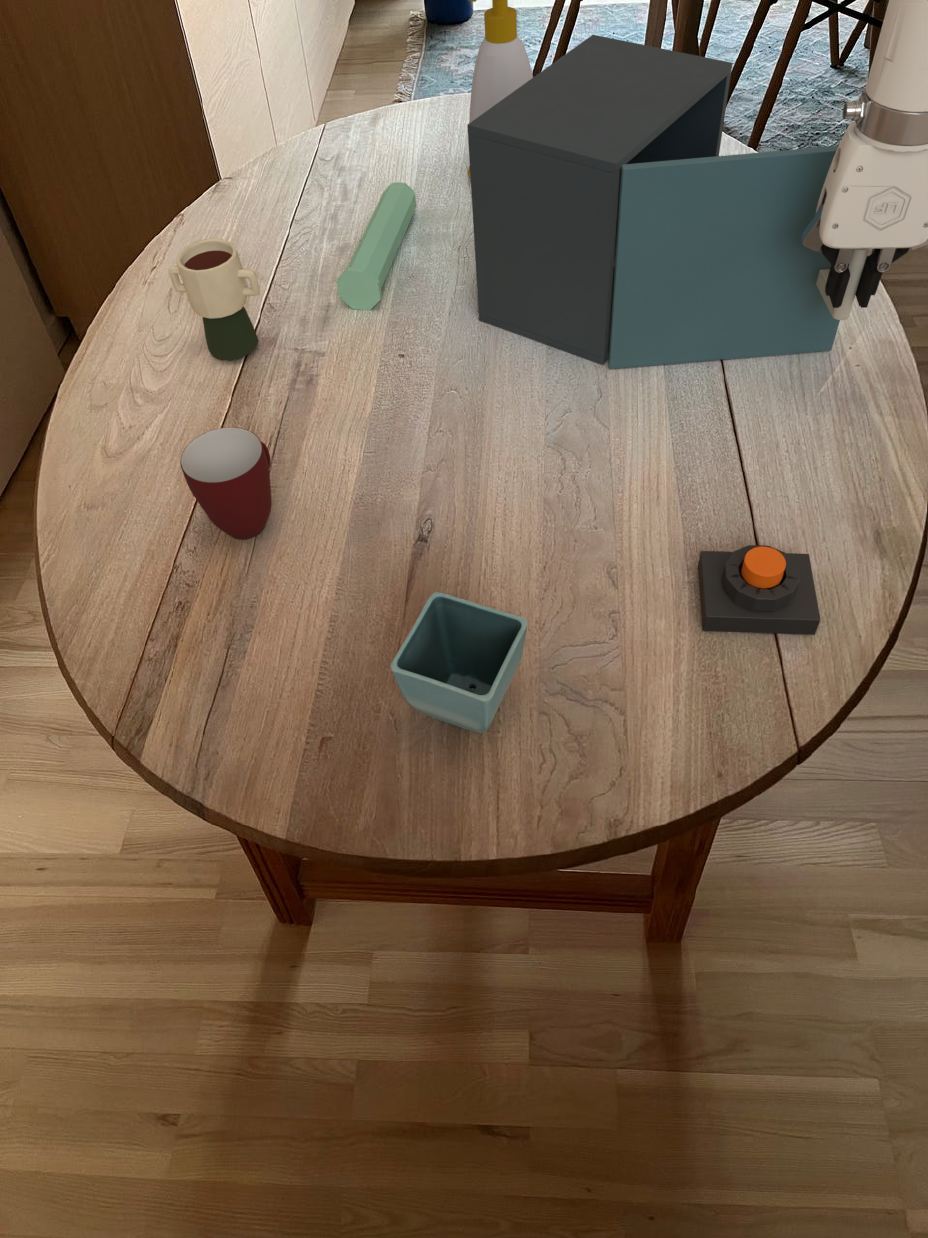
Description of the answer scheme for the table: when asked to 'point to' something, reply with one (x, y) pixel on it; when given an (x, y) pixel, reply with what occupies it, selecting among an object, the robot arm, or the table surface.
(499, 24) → the soap bottle
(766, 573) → the button
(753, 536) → the table surface
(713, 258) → the door
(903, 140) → the robot arm
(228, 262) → the character mug
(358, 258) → the green octagonal rod
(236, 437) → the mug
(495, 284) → the cupboard
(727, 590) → the button block
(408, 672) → the flower pot
